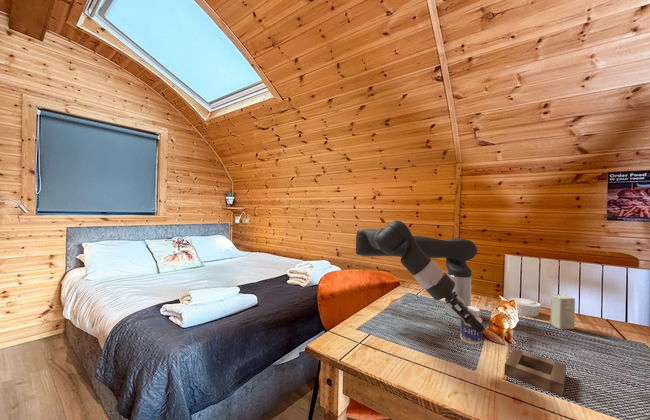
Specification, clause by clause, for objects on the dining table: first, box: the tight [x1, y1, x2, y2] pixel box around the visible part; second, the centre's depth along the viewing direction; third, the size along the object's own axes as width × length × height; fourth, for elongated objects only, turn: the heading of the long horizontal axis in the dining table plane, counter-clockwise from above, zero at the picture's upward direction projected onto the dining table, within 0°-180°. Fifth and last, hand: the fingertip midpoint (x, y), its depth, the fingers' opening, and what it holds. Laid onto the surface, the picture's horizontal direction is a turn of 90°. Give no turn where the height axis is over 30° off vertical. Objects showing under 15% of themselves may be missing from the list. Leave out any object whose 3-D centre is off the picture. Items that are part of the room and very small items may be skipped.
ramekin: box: [509, 297, 542, 318], centre depth 121 cm, size 11×11×5 cm
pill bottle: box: [459, 305, 483, 345], centre depth 75 cm, size 5×5×9 cm
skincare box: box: [550, 294, 576, 330], centre depth 106 cm, size 6×4×12 cm
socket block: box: [504, 348, 567, 397], centre depth 74 cm, size 12×12×3 cm
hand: (478, 325), depth 74 cm, fingers closed on pill bottle, 5 cm apart
